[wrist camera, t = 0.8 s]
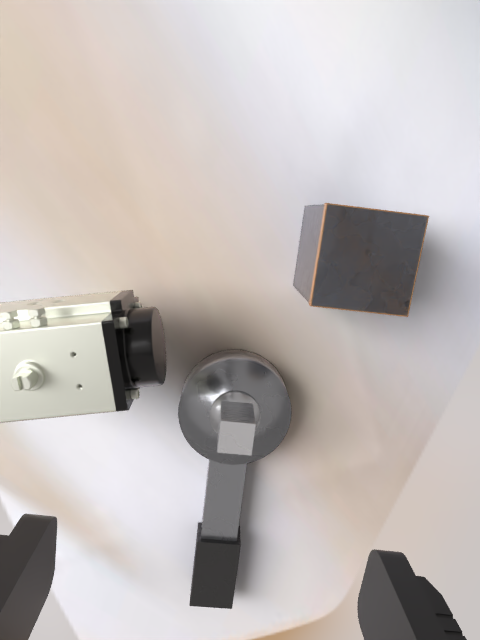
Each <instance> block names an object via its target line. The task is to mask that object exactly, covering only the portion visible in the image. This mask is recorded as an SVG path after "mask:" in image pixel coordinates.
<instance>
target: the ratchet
mask: <svg viewBox="0 0 480 640" xmlns="http://www.w3.org/2000/svg"><path fill="white" fill-rule="evenodd" d="M178 416H179V423H180V427H181V430H182V433H183V435H184V437H185V438H186V440H187V442H188V443H189V444H190V445H191V447H192V448H194V449H195V450H196V451H197V452H198V453H199V454H201V455H202V456H204V457H206V458H207V459H209V465H208V474H207V483H206V492H205V501H204V509H203V518H202V523H198V530H197V539H196V548H195V557H194V566H193V575H192V584H191V595H190V606H200V607H214V608H229V609H232V604H233V596H234V589H235V582H236V575H237V567H238V560H239V553H240V546H241V544H240V526H239V520H240V512H241V505H242V497H243V490H244V483H245V475H246V468H247V463H251V462H254V461H257V460H259V459H261V458H263V457H265V456H266V455H268V454H269V453H271V452H272V451H273V450H274V449H275V448H276V447H277V446H278V445H279V444H280V443H281V441H282V440H283V439H284V437H285V435H286V433H287V431H288V428H289V425H290V421H291V403H290V399H289V396H288V393H287V390H286V387H285V384H284V381H283V379H282V377H281V375H280V373H279V372H278V371H277V369H276V368H275V367H274V366H273V365H272V364H271V363H270V362H269V361H268V360H266V359H265V358H263V357H262V356H260V355H257V354H255V353H252V352H249V351H244V350H225V351H220V352H217V353H214V354H212V355H210V356H208V357H206V358H205V359H203V360H202V361H200V362H199V363H198V364H197V365H196V366H195V367H194V368H193V369H192V370H191V372H190V373H189V375H188V377H187V379H186V381H185V383H184V387H183V390H182V394H181V399H180V403H179V412H178Z"/></svg>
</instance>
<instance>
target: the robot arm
mask: <svg viewBox="0 0 480 640" xmlns="http://www.w3.org/2000/svg"><path fill="white" fill-rule="evenodd" d="M56 536H57V518H56V517H53V516H43V515H33V514H24V515H23V516H22V517H21V518H20V520H19V521H18V523H17V524H16V526H15V527H14V529H13V531H12V532H11V534H10V535H9V536H7V535H0V640H28V638H29V636H30V634H31V632H32V629H33V627H34V625H35V623H36V621H37V619H38V616H39V614H40V612H41V609H42V607H43V605H44V603H45V601H46V599H47V596H48V594H49V591H50V588H51V584H52V580H53V576H54V570H55V554H56ZM358 618H359V624H360V628H361V630H362V634H363V637H364V640H467V639H466V638H465V636H463V635H462V631H461V629H460V627H459V625H458V623H457V622H456V620H455V619H453V614H452V613H451V611H450V609H449V607H448V606H447V604H446V602H445V600H444V598H443V596H442V595H441V594H440V593H439V592H438V591H437V590H436V589H435V588H434V587H433V585H432V584H431V583H429V581H428V580H426V578H425V577H421V576H415V574H414V572H413V570H412V568H411V566H410V564H409V562H408V560H407V558H406V557H405V555H404V554H403V553H401V552H393V551H383V550H372V551H371V552H370V554H369V558H368V561H367V566H366V569H365V573H364V577H363V581H362V585H361V589H360V593H359V597H358Z"/></svg>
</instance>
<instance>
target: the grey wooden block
mask: <svg viewBox="0 0 480 640" xmlns="http://www.w3.org/2000/svg"><path fill="white" fill-rule="evenodd" d="M428 218H429V216H427V215H419V214H411V213H403V212H395V211H386V210H378V209H370V208H362V207H354V206H346V205H338V204H330V203H325V204H323V205H310V206H305V208H304V215H303V222H302V229H301V236H300V242H299V249H298V256H297V263H296V270H295V277H294V283H293V286H294V287H295V288H296V289H297V290H298V291H299V292H300V294H301V295H302V296H303V297H304V298H305V299H306V300H307V301H308V302H309V305H310V306H314V307H323V308H332V309H341V310H350V311H359V312H369V313H378V314H387V315H396V316H405V317H408V314H409V309H410V304H411V299H412V295H413V290H414V285H415V280H416V276H417V271H418V266H419V261H420V256H421V252H422V247H423V242H424V237H425V233H426V228H427V223H428Z"/></svg>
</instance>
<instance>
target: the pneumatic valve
mask: <svg viewBox="0 0 480 640" xmlns="http://www.w3.org/2000/svg"><path fill="white" fill-rule="evenodd" d="M165 376H166V345H165V336H164V329H163V324H162V320H161V316H160V313H159V311H158V309H157V308H156V307H146V308H142V304H141V302H139V300H138V297H134V294H133V290H127V291H117V292H106V293H96V294H85V295H75V296H65V297H54V298H44V299H33V300H23V301H12V302H2V303H0V423H4V422H14V421H24V420H34V419H44V418H54V417H64V416H74V415H84V414H95V413H105V412H115V411H125V410H129V408H130V406H131V404H132V402H133V400H134V399H138V398H139V388H140V387H146V386H156V385H162V384H163V383H164V381H165Z"/></svg>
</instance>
